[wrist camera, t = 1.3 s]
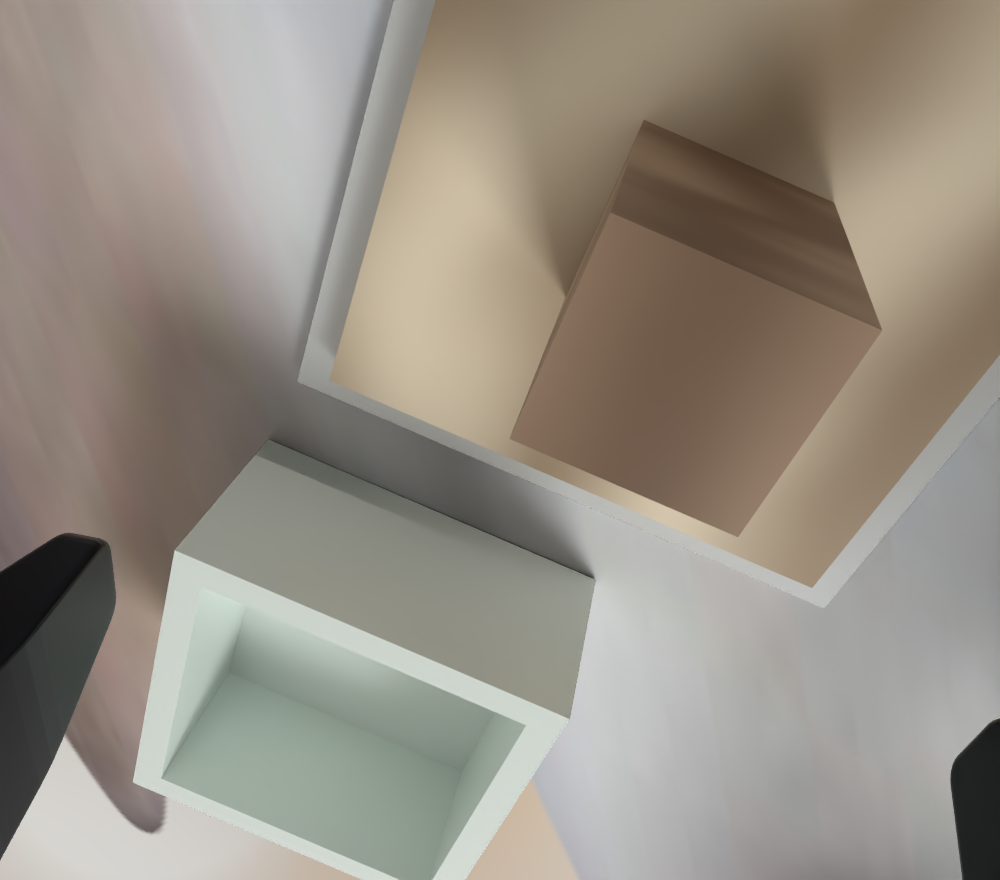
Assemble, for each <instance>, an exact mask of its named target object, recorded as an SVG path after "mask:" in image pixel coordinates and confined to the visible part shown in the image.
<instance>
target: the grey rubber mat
mask: <svg viewBox="0 0 1000 880" xmlns="http://www.w3.org/2000/svg"><path fill="white" fill-rule="evenodd" d="M434 4H435V0H394V1H393V5H392V9H391V13H390V17H389V21H388V25H387V29H386V33H385V37H384V40H383V44H382V48H381V52H380V56H379V60H378V64H377V68H376V72H375V76H374V80H373V84H372V88H371V92H370V96H369V100H368V104H367V107H366V111H365V115H364V119H363V123H362V127H361V131H360V135H359V139H358V143H357V147H356V151H355V155H354V159H353V163H352V167H351V171H350V175H349V178H348V182H347V186H346V190H345V194H344V198H343V202H342V206H341V210H340V214H339V218H338V222H337V226H336V230H335V234H334V238H333V242H332V246H331V249H330V253H329V257H328V261H327V265H326V269H325V273H324V277H323V281H322V285H321V289H320V293H319V297H318V301H317V305H316V309H315V313H314V316H313V320H312V324H311V328H310V332H309V336H308V340H307V344H306V348H305V352H304V356H303V360H302V364H301V368H300V372H299V376H298V380H297V382H298V383H301V384H303V385H305V386H308V387H310V388H312V389H315V390H317V391H319V392H322V393H324V394H326V395H329V396H331V397H333V398H336V399H338V400H340V401H343V402H345V403H347V404H350V405H352V406H354V407H357V408H359V409H361V410H364V411H366V412H368V413H371V414H373V415H375V416H378V417H380V418H382V419H384V420H387V421H389V422H391V423H394V424H396V425H398V426H401V427H403V428H405V429H408V430H410V431H412V432H415V433H417V434H419V435H422V436H424V437H426V438H429V439H431V440H433V441H436V442H438V443H440V444H443V445H445V446H447V447H450V448H452V449H454V450H457V451H459V452H461V453H464V454H466V455H468V456H471V457H473V458H475V459H478V460H480V461H482V462H484V463H487V464H489V465H491V466H494V467H496V468H498V469H501V470H503V471H505V472H508V473H510V474H512V475H515V476H517V477H519V478H522V479H524V480H526V481H529V482H531V483H533V484H536V485H538V486H540V487H543V488H545V489H547V490H550V491H552V492H554V493H557V494H559V495H561V496H564V497H566V498H568V499H571V500H573V501H575V502H577V503H580V504H582V505H584V506H587V507H589V508H591V509H594V510H596V511H598V512H601V513H603V514H605V515H608V516H610V517H612V518H615V519H617V520H619V521H622V522H624V523H626V524H629V525H631V526H633V527H636V528H638V529H640V530H643V531H645V532H647V533H650V534H652V535H654V536H657V537H659V538H661V539H664V540H666V541H668V542H671V543H673V544H675V545H677V546H680V547H682V548H684V549H687V550H689V551H691V552H694V553H696V554H698V555H701V556H703V557H705V558H708V559H710V560H712V561H715V562H717V563H719V564H722V565H724V566H726V567H729V568H731V569H733V570H736V571H738V572H740V573H743V574H745V575H747V576H750V577H752V578H754V579H757V580H759V581H761V582H764V583H766V584H768V585H771V586H773V587H775V588H777V589H780V590H782V591H784V592H787V593H789V594H791V595H794V596H796V597H798V598H801V599H803V600H805V601H808V602H810V603H812V604H815V605H817V606H819V607H822V608H825V607H826V606H827V604H828V603H829V602H830V601H831V600H832V598H833V597H834V596H835V595H836V594H837V592H838V591H839V590H840V589H841V587H842V586H843V585H844V584H845V583H846V581H847V580H848V579H849V578H850V577H851V575H852V574H853V573H854V572H855V571H856V569H857V568H858V567H859V566H860V565H861V563H862V562H863V561H864V560H865V559H866V557H867V556H868V555H869V554H870V553H871V551H872V550H873V549H874V548H875V547H876V545H877V544H878V543H879V542H880V541H881V539H882V538H883V537H884V536H885V535H886V533H887V532H888V531H889V530H890V529H891V527H892V526H893V525H894V524H895V523H896V521H897V520H898V519H899V518H900V517H901V515H902V514H903V513H904V512H905V511H906V509H907V508H908V507H909V506H910V505H911V503H912V502H913V501H914V500H915V499H916V497H917V496H918V495H919V494H920V493H921V491H922V490H923V489H924V488H925V487H926V485H927V484H928V483H929V482H930V481H931V479H932V478H933V477H934V476H935V475H936V473H937V472H938V471H939V470H940V468H941V467H942V466H943V465H944V464H945V462H946V461H947V460H948V459H949V458H950V456H951V455H952V454H953V453H954V452H955V450H956V449H957V448H958V447H959V446H960V444H961V443H962V442H963V441H964V440H965V438H966V437H967V436H968V435H969V434H970V432H971V431H972V430H973V429H974V428H975V426H976V425H977V424H978V423H979V422H980V420H981V419H982V418H983V417H984V416H985V414H986V413H987V412H988V411H989V410H990V408H991V407H992V406H993V405H994V404H995V402H996V401H997V400H998V399H999V398H1000V355H999V356H998V358H997V359H996V360H995V361H994V363H993V364H992V365H991V366H990V368H989V369H988V370H987V371H986V373H985V374H984V375H983V376H982V378H981V379H980V380H979V381H978V383H977V384H976V385H975V386H974V388H973V389H972V390H971V391H970V393H969V394H968V395H967V396H966V397H965V399H964V400H963V401H962V402H961V404H960V405H959V406H958V407H957V409H956V410H955V411H954V412H953V414H952V415H951V416H950V417H949V419H948V420H947V421H946V422H945V424H944V425H943V426H942V427H941V429H940V430H939V431H938V432H937V434H936V435H935V436H934V437H933V439H932V440H931V441H930V442H929V443H928V445H927V446H926V447H925V448H924V450H923V451H922V452H921V453H920V455H919V456H918V457H917V458H916V460H915V461H914V462H913V463H912V465H911V466H910V467H909V468H908V470H907V471H906V472H905V473H904V475H903V476H902V477H901V478H900V480H899V481H898V482H897V483H896V485H895V486H894V487H893V488H892V490H891V491H890V492H889V493H888V494H887V496H886V497H885V498H884V499H883V501H882V502H881V503H880V504H879V506H878V507H877V508H876V509H875V511H874V512H873V513H872V514H871V516H870V517H869V518H868V519H867V521H866V522H865V523H864V524H863V526H862V527H861V528H860V529H859V531H858V532H857V533H856V534H855V536H854V537H853V538H852V539H851V540H850V542H849V543H848V544H847V545H846V547H845V548H844V549H843V550H842V552H841V553H840V554H839V555H838V557H837V558H836V559H835V560H834V562H833V563H832V564H831V565H830V567H829V568H828V569H827V570H826V572H825V573H824V574H823V575H822V577H821V578H820V579H819V580H818V582H817V583H816V584H815V585H814V587H813V588H811V587H808V586H806V585H804V584H801V583H799V582H797V581H794V580H792V579H790V578H787V577H785V576H783V575H780V574H778V573H776V572H773V571H771V570H769V569H766V568H764V567H762V566H759V565H757V564H755V563H752V562H750V561H748V560H745V559H743V558H741V557H738V556H736V555H734V554H732V553H729V552H727V551H725V550H722V549H720V548H718V547H715V546H713V545H711V544H708V543H706V542H704V541H701V540H699V539H697V538H694V537H692V536H690V535H687V534H685V533H683V532H680V531H678V530H676V529H673V528H671V527H669V526H666V525H664V524H662V523H659V522H657V521H655V520H652V519H650V518H648V517H646V516H643V515H641V514H639V513H636V512H634V511H632V510H629V509H627V508H625V507H622V506H620V505H618V504H615V503H613V502H611V501H608V500H606V499H604V498H601V497H599V496H597V495H594V494H592V493H590V492H587V491H585V490H583V489H580V488H578V487H576V486H573V485H571V484H569V483H566V482H564V481H562V480H560V479H557V478H555V477H553V476H550V475H548V474H546V473H543V472H541V471H539V470H536V469H534V468H532V467H529V466H527V465H525V464H522V463H520V462H518V461H515V460H513V459H511V458H508V457H506V456H504V455H501V454H499V453H497V452H494V451H492V450H490V449H487V448H485V447H483V446H480V445H478V444H476V443H474V442H471V441H469V440H467V439H464V438H462V437H460V436H457V435H455V434H453V433H450V432H448V431H446V430H443V429H441V428H439V427H436V426H434V425H432V424H429V423H427V422H425V421H422V420H420V419H418V418H415V417H413V416H411V415H408V414H406V413H404V412H401V411H399V410H397V409H394V408H392V407H390V406H387V405H385V404H383V403H381V402H378V401H376V400H374V399H371V398H369V397H367V396H364V395H362V394H360V393H357V392H355V391H353V390H350V389H348V388H346V387H343V386H341V385H339V384H336V383H334V382H332V381H329V380H330V376H331V373H332V369H333V365H334V362H335V358H336V355H337V351H338V347H339V344H340V340H341V337H342V333H343V330H344V326H345V322H346V319H347V315H348V312H349V308H350V305H351V301H352V297H353V294H354V290H355V287H356V283H357V279H358V276H359V272H360V269H361V265H362V262H363V258H364V254H365V251H366V247H367V244H368V240H369V237H370V233H371V229H372V226H373V222H374V219H375V215H376V211H377V208H378V204H379V201H380V197H381V194H382V190H383V186H384V183H385V179H386V176H387V172H388V169H389V165H390V161H391V158H392V154H393V151H394V147H395V143H396V140H397V136H398V133H399V129H400V126H401V122H402V118H403V115H404V111H405V108H406V104H407V101H408V97H409V93H410V90H411V86H412V83H413V79H414V75H415V72H416V68H417V65H418V61H419V58H420V54H421V50H422V47H423V43H424V40H425V36H426V33H427V29H428V25H429V22H430V18H431V15H432V11H433V7H434Z"/></svg>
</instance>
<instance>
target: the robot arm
mask: <svg viewBox="0 0 1000 880" xmlns="http://www.w3.org/2000/svg"><path fill="white" fill-rule="evenodd" d="M115 604H116V589H115V581H114V572H113V564H112V556H111V550H110V546H109V545H108V543H107V542H106V541H105V540H102V539H100V538H95V537H90V536H84V535H79V534H74V533H64V534H61V535H58V536H56V537H54V538H53V539H51V540H49V541H48V542H46V543H45V544H43V545H42V546H40V547H38V548H37V549H35V550H34V551H32V552H31V553H29V554H27V555H26V556H24V557H23V558H21V559H20V560H18V561H16V562H15V563H13V564H12V565H10V566H8V567H7V568H5V569H4V570H2V571H1V572H0V860H1V858H2V856H3V854H4V852H5V850H6V849H7V847H8V845H9V843H10V841H11V839H12V838H13V836H14V834H15V832H16V830H17V828H18V826H19V825H20V823H21V821H22V819H23V817H24V815H25V814H26V812H27V810H28V808H29V806H30V804H31V802H32V801H33V799H34V797H35V795H36V793H37V791H38V790H39V788H40V786H41V784H42V782H43V780H44V778H45V776H46V774H47V772H48V770H49V768H50V766H51V764H52V762H53V760H54V758H55V755H56V753H57V751H58V748H59V746H60V744H61V742H62V739H63V737H64V734H65V732H66V730H67V727H68V725H69V722H70V720H71V717H72V715H73V712H74V710H75V707H76V705H77V703H78V700H79V698H80V695H81V693H82V690H83V688H84V685H85V683H86V680H87V678H88V676H89V673H90V671H91V668H92V666H93V663H94V661H95V658H96V656H97V653H98V651H99V649H100V646H101V644H102V641H103V639H104V636H105V634H106V631H107V629H108V626H109V624H110V621H111V619H112V616H113V613H114V609H115ZM951 791H952V799H953V807H954V815H955V823H956V831H957V839H958V847H959V855H960V863H961V871H962V879H963V880H1000V718H999V719H996V720H994V721H992V722H991V723H989V724H988V725H987V726H986V727H985V728H984V729H983V730H982V731H981V732H980V733H979V734H978V735H977V737H976V738H975V739H974V740H973V741H972V742H971V743H970V744H969V745H968V746H967V747H966V748H965V749H964V750H963V751H962V752H961V753H960V754H959V755H958V756H957V758H956V759H955V761H954V763H953V766H952V770H951Z"/></svg>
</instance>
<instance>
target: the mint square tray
mask: <svg viewBox="0 0 1000 880" xmlns="http://www.w3.org/2000/svg"><path fill="white" fill-rule="evenodd" d="M595 581H596V580H595V579H592V578H590V577H588V576H585V575H583V574H581V573H578V572H576V571H574V570H571V569H569V568H567V567H564V566H562V565H560V564H557V563H555V562H553V561H550V560H548V559H546V558H543V557H541V556H539V555H536V554H534V553H532V552H529V551H527V550H525V549H522V548H520V547H518V546H516V545H513V544H511V543H509V542H506V541H504V540H502V539H499V538H497V537H495V536H492V535H490V534H488V533H485V532H483V531H481V530H478V529H476V528H474V527H471V526H469V525H467V524H464V523H462V522H460V521H457V520H455V519H453V518H450V517H448V516H446V515H443V514H441V513H439V512H436V511H434V510H432V509H429V508H427V507H425V506H422V505H420V504H418V503H415V502H413V501H411V500H408V499H406V498H404V497H401V496H399V495H397V494H394V493H392V492H390V491H387V490H385V489H383V488H380V487H378V486H376V485H373V484H371V483H369V482H366V481H364V480H362V479H359V478H357V477H355V476H352V475H350V474H348V473H345V472H343V471H341V470H338V469H336V468H334V467H331V466H329V465H327V464H324V463H322V462H320V461H317V460H315V459H313V458H310V457H308V456H306V455H303V454H301V453H299V452H296V451H294V450H292V449H289V448H287V447H285V446H282V445H280V444H278V443H275V442H273V441H271V440H267V441H266V443H265V444H264V445H263V446H262V447H261V449H260V450H259V451H258V452H257V453H256V455H255V456H254V457H253V458H252V459H251V460H250V462H249V463H248V464H247V465H246V466H245V468H244V469H243V470H242V471H241V472H240V473H239V475H238V476H237V477H236V478H235V479H234V481H233V482H232V483H231V484H230V485H229V486H228V488H227V489H226V490H225V491H224V492H223V494H222V495H221V496H220V497H219V498H218V499H217V501H216V502H215V503H214V504H213V505H212V507H211V508H210V509H209V510H208V511H207V512H206V514H205V515H204V516H203V517H202V518H201V520H200V521H199V522H198V523H197V524H196V525H195V527H194V528H193V529H192V530H191V531H190V533H189V534H188V535H187V536H186V537H185V538H184V540H183V541H182V542H181V543H180V544H179V546H178V547H177V548H176V549H175V550H174V556H173V562H172V567H171V573H170V578H169V584H168V590H167V595H166V601H165V606H164V612H163V618H162V623H161V629H160V634H159V640H158V645H157V651H156V657H155V662H154V668H153V673H152V679H151V685H150V690H149V696H148V701H147V707H146V712H145V718H144V724H143V729H142V735H141V740H140V746H139V752H138V757H137V763H136V768H135V774H134V779H133V783H135V784H138V785H140V786H142V787H145V788H147V789H149V790H152V791H154V792H156V793H159V794H161V795H164V796H166V797H168V798H171V799H173V800H176V801H178V802H180V803H182V804H185V805H187V806H190V807H192V808H194V809H197V810H199V811H201V812H204V813H206V814H208V815H211V816H213V817H215V818H218V819H220V820H222V821H225V822H227V823H230V824H232V825H234V826H237V827H239V828H241V829H244V830H246V831H248V832H251V833H253V834H256V835H258V836H260V837H263V838H265V839H267V840H270V841H272V842H274V843H277V844H279V845H281V846H284V847H286V848H289V849H291V850H293V851H296V852H298V853H300V854H303V855H305V856H307V857H310V858H312V859H314V860H317V861H319V862H321V863H324V864H326V865H329V866H331V867H334V868H336V869H338V870H340V871H343V872H345V873H347V874H350V875H352V876H354V877H357V878H359V879H362V880H465V879H466V877H467V876H468V874H469V873H470V871H471V870H472V868H473V867H474V865H475V864H476V862H477V861H478V859H479V858H480V856H481V854H482V853H483V851H484V850H485V848H486V847H487V845H488V844H489V842H490V841H491V839H492V838H493V836H494V834H495V833H496V831H497V830H498V828H499V827H500V825H501V824H502V822H503V821H504V819H505V818H506V816H507V815H508V813H509V811H510V810H511V808H512V807H513V805H514V804H515V802H516V801H517V799H518V798H519V796H520V794H521V793H522V792H523V790H524V788H525V787H526V785H527V784H528V782H529V781H530V779H531V778H532V776H533V775H534V773H535V772H536V770H537V769H538V767H539V765H540V764H541V762H542V761H543V759H544V758H545V756H546V755H547V753H548V752H549V750H550V749H551V747H552V745H553V744H554V742H555V741H556V739H557V738H558V736H559V735H560V733H561V732H562V730H563V729H564V727H565V726H566V724H567V722H568V721H569V719H570V715H571V709H572V704H573V699H574V693H575V688H576V683H577V677H578V672H579V667H580V661H581V656H582V650H583V645H584V640H585V634H586V629H587V624H588V618H589V613H590V607H591V602H592V597H593V591H594V586H595Z"/></svg>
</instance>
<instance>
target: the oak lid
mask: <svg viewBox="0 0 1000 880" xmlns="http://www.w3.org/2000/svg"><path fill="white" fill-rule="evenodd" d="M999 355H1000V0H435V4H434V7H433V11H432V15H431V18H430V22H429V25H428V29H427V33H426V36H425V40H424V43H423V47H422V50H421V54H420V58H419V61H418V65H417V68H416V72H415V75H414V79H413V83H412V86H411V90H410V93H409V97H408V101H407V104H406V108H405V111H404V115H403V118H402V122H401V126H400V129H399V133H398V136H397V140H396V143H395V147H394V151H393V154H392V158H391V161H390V165H389V169H388V172H387V176H386V179H385V183H384V186H383V190H382V194H381V197H380V201H379V204H378V208H377V211H376V215H375V219H374V222H373V226H372V229H371V233H370V237H369V240H368V244H367V247H366V251H365V254H364V258H363V262H362V265H361V269H360V272H359V276H358V279H357V283H356V287H355V290H354V294H353V297H352V301H351V305H350V308H349V312H348V315H347V319H346V322H345V326H344V330H343V333H342V337H341V340H340V344H339V347H338V351H337V355H336V358H335V362H334V365H333V369H332V373H331V376H330V380H329V381H332V382H334V383H336V384H339V385H341V386H343V387H346V388H348V389H350V390H353V391H355V392H357V393H360V394H362V395H364V396H367V397H369V398H371V399H374V400H376V401H378V402H381V403H383V404H385V405H387V406H390V407H392V408H394V409H397V410H399V411H401V412H404V413H406V414H408V415H411V416H413V417H415V418H418V419H420V420H422V421H425V422H427V423H429V424H432V425H434V426H436V427H439V428H441V429H443V430H446V431H448V432H450V433H453V434H455V435H457V436H460V437H462V438H464V439H467V440H469V441H471V442H474V443H476V444H478V445H480V446H483V447H485V448H487V449H490V450H492V451H494V452H497V453H499V454H501V455H504V456H506V457H508V458H511V459H513V460H515V461H518V462H520V463H522V464H525V465H527V466H529V467H532V468H534V469H536V470H539V471H541V472H543V473H546V474H548V475H550V476H553V477H555V478H557V479H560V480H562V481H564V482H566V483H569V484H571V485H573V486H576V487H578V488H580V489H583V490H585V491H587V492H590V493H592V494H594V495H597V496H599V497H601V498H604V499H606V500H608V501H611V502H613V503H615V504H618V505H620V506H622V507H625V508H627V509H629V510H632V511H634V512H636V513H639V514H641V515H643V516H646V517H648V518H650V519H652V520H655V521H657V522H659V523H662V524H664V525H666V526H669V527H671V528H673V529H676V530H678V531H680V532H683V533H685V534H687V535H690V536H692V537H694V538H697V539H699V540H701V541H704V542H706V543H708V544H711V545H713V546H715V547H718V548H720V549H722V550H725V551H727V552H729V553H732V554H734V555H736V556H738V557H741V558H743V559H745V560H748V561H750V562H752V563H755V564H757V565H759V566H762V567H764V568H766V569H769V570H771V571H773V572H776V573H778V574H780V575H783V576H785V577H787V578H790V579H792V580H794V581H797V582H799V583H801V584H804V585H806V586H808V587H811V588H813V587H814V585H815V584H816V583H817V582H818V580H819V579H820V578H821V577H822V575H823V574H824V573H825V572H826V570H827V569H828V568H829V567H830V565H831V564H832V563H833V562H834V560H835V559H836V558H837V557H838V555H839V554H840V553H841V552H842V550H843V549H844V548H845V547H846V545H847V544H848V543H849V542H850V540H851V539H852V538H853V537H854V536H855V534H856V533H857V532H858V531H859V529H860V528H861V527H862V526H863V524H864V523H865V522H866V521H867V519H868V518H869V517H870V516H871V514H872V513H873V512H874V511H875V509H876V508H877V507H878V506H879V504H880V503H881V502H882V501H883V499H884V498H885V497H886V496H887V494H888V493H889V492H890V491H891V490H892V488H893V487H894V486H895V485H896V483H897V482H898V481H899V480H900V478H901V477H902V476H903V475H904V473H905V472H906V471H907V470H908V468H909V467H910V466H911V465H912V463H913V462H914V461H915V460H916V458H917V457H918V456H919V455H920V453H921V452H922V451H923V450H924V448H925V447H926V446H927V445H928V443H929V442H930V441H931V440H932V439H933V437H934V436H935V435H936V434H937V432H938V431H939V430H940V429H941V427H942V426H943V425H944V424H945V422H946V421H947V420H948V419H949V417H950V416H951V415H952V414H953V412H954V411H955V410H956V409H957V407H958V406H959V405H960V404H961V402H962V401H963V400H964V399H965V397H966V396H967V395H968V394H969V393H970V391H971V390H972V389H973V388H974V386H975V385H976V384H977V383H978V381H979V380H980V379H981V378H982V376H983V375H984V374H985V373H986V371H987V370H988V369H989V368H990V366H991V365H992V364H993V363H994V361H995V360H996V359H997V358H998V356H999Z"/></svg>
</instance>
